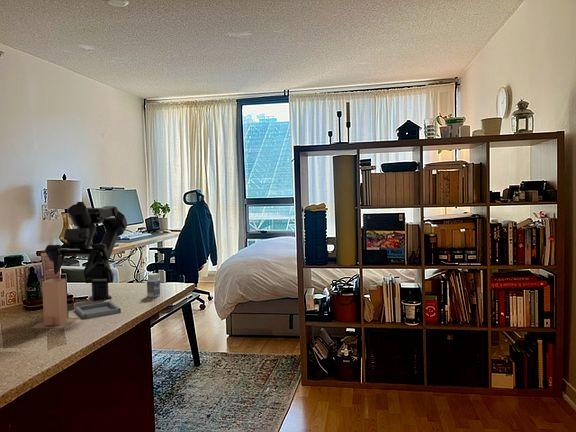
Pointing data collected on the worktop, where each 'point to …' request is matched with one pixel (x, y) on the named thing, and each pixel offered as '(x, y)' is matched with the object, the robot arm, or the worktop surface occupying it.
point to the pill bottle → (153, 285)
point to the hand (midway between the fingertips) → (70, 273)
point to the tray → (97, 309)
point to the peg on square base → (63, 325)
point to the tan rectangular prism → (54, 301)
